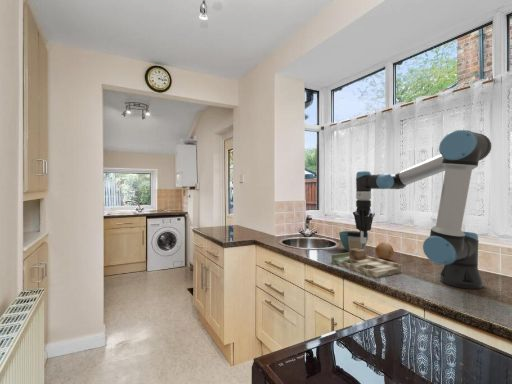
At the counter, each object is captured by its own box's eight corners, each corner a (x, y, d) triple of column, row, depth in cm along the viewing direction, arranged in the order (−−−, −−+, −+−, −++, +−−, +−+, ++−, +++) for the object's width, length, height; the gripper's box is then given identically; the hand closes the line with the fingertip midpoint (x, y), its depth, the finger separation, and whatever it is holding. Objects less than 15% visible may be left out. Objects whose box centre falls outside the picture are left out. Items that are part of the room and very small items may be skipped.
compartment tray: (400, 272, 135) (400, 263, 135) (376, 277, 127) (376, 268, 127) (354, 259, 161) (354, 251, 161) (331, 262, 152) (331, 254, 152)
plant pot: (333, 250, 183) (333, 232, 183) (349, 247, 194) (349, 230, 194) (358, 255, 169) (358, 236, 169) (373, 251, 180) (373, 233, 180)
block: (365, 259, 151) (365, 250, 151) (358, 260, 148) (358, 251, 148) (356, 256, 156) (357, 248, 156) (349, 258, 153) (349, 249, 153)
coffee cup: (364, 259, 161) (364, 233, 161) (347, 258, 163) (348, 233, 163) (361, 255, 171) (361, 231, 170) (345, 254, 172) (346, 230, 172)
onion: (385, 262, 154) (385, 244, 154) (371, 258, 163) (371, 241, 163) (397, 261, 157) (398, 243, 157) (383, 257, 167) (384, 240, 167)
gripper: (349, 199, 153) (349, 241, 153) (368, 200, 141) (368, 245, 141) (358, 199, 156) (358, 240, 156) (378, 200, 145) (378, 244, 145)
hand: (363, 243), depth 149 cm, fingers closed
